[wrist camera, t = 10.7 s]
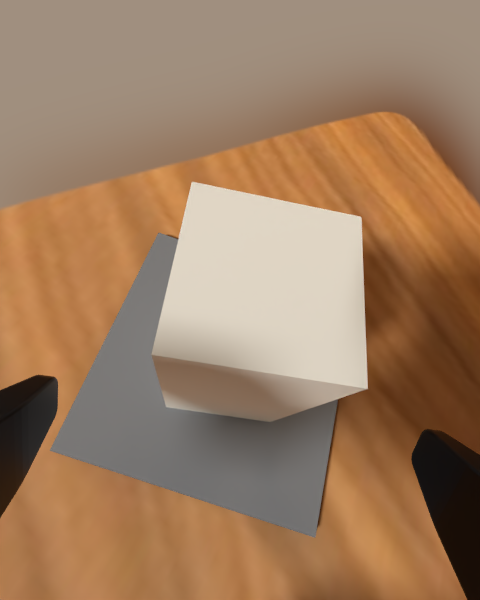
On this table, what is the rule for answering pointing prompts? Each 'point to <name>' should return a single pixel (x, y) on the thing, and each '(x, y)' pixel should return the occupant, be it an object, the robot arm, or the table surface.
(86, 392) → the slate coaster
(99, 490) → the table surface
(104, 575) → the table surface
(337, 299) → the cream block
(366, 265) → the table surface
